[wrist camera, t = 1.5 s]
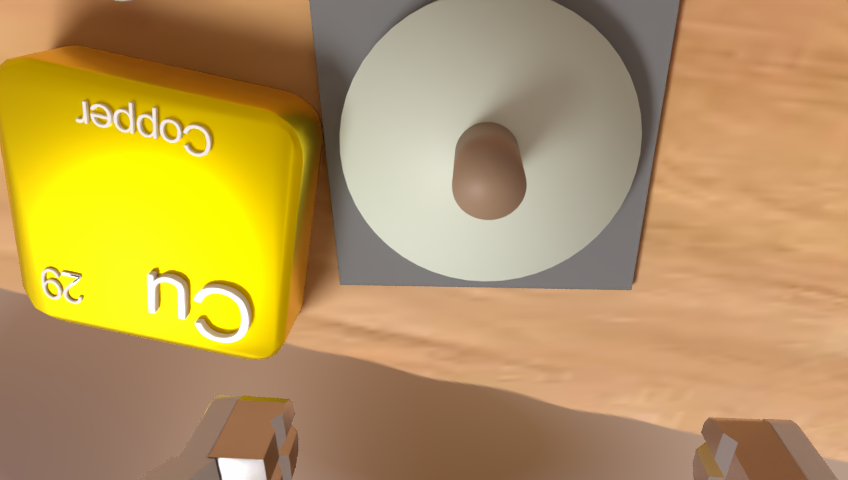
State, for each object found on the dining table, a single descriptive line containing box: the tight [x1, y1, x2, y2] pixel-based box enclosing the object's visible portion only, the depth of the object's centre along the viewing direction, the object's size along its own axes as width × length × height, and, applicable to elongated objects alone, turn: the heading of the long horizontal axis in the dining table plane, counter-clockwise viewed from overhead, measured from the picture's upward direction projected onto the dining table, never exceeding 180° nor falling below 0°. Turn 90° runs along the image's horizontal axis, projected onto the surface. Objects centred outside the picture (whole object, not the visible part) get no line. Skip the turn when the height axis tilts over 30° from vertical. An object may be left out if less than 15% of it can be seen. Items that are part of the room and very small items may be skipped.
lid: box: [339, 0, 642, 281], centre depth 26 cm, size 15×15×6 cm
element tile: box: [0, 45, 322, 360], centre depth 30 cm, size 15×15×5 cm
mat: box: [309, 0, 680, 290], centre depth 29 cm, size 17×17×1 cm
